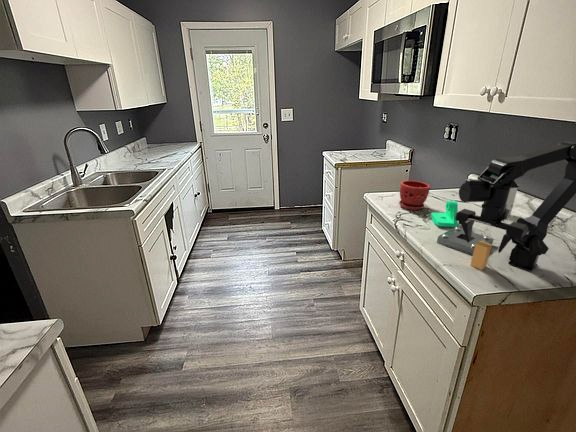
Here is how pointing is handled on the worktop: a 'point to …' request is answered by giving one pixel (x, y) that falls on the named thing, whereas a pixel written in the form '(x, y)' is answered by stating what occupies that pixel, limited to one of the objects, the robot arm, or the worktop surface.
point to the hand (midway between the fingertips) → (483, 247)
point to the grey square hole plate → (462, 240)
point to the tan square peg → (480, 255)
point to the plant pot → (413, 194)
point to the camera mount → (446, 215)
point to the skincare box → (511, 199)
